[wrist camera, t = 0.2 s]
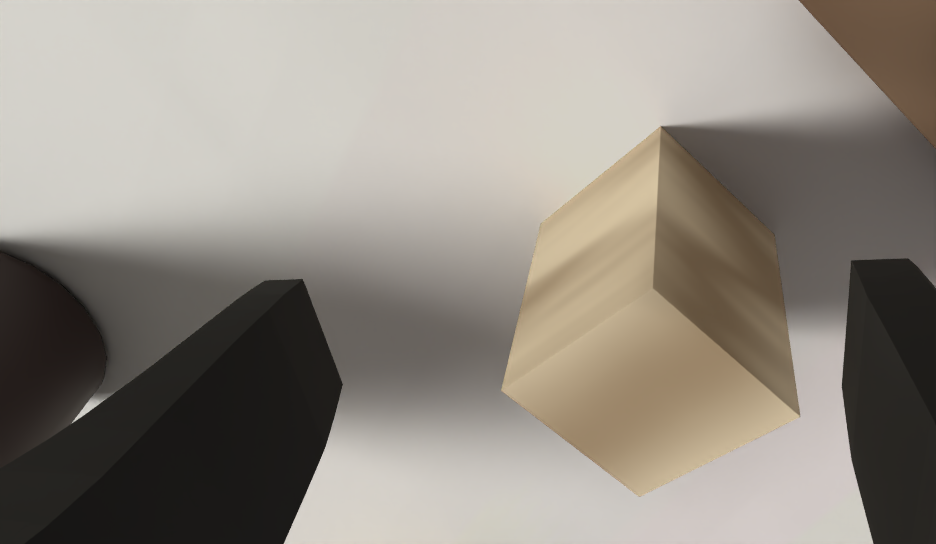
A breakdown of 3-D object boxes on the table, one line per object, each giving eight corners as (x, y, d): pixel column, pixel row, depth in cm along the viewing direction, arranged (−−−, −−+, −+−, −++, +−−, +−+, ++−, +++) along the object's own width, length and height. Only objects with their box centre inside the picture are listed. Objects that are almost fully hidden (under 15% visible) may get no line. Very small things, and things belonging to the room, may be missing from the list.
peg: (774, 234, 20) (800, 417, 16) (648, 316, 23) (639, 496, 18) (660, 126, 19) (652, 288, 15) (540, 223, 22) (501, 390, 17)
